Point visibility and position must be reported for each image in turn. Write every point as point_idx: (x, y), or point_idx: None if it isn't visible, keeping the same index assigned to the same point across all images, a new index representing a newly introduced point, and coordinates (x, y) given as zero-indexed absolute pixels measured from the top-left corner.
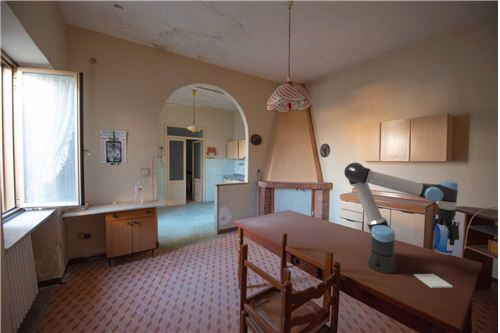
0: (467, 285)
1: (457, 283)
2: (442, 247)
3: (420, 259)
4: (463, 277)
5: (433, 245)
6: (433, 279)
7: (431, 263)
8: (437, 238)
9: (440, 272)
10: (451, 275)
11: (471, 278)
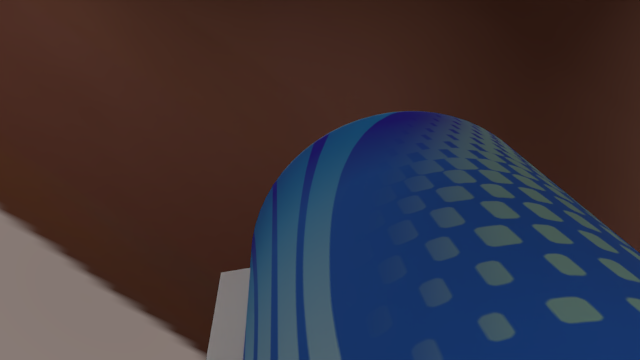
0: (7, 179)
1: (21, 98)
2: (280, 217)
3: (584, 40)
4: (184, 256)
5: (471, 133)
6: None
7: (479, 116)
8: (416, 239)
9: (256, 73)
10: (204, 157)
11: (180, 319)
